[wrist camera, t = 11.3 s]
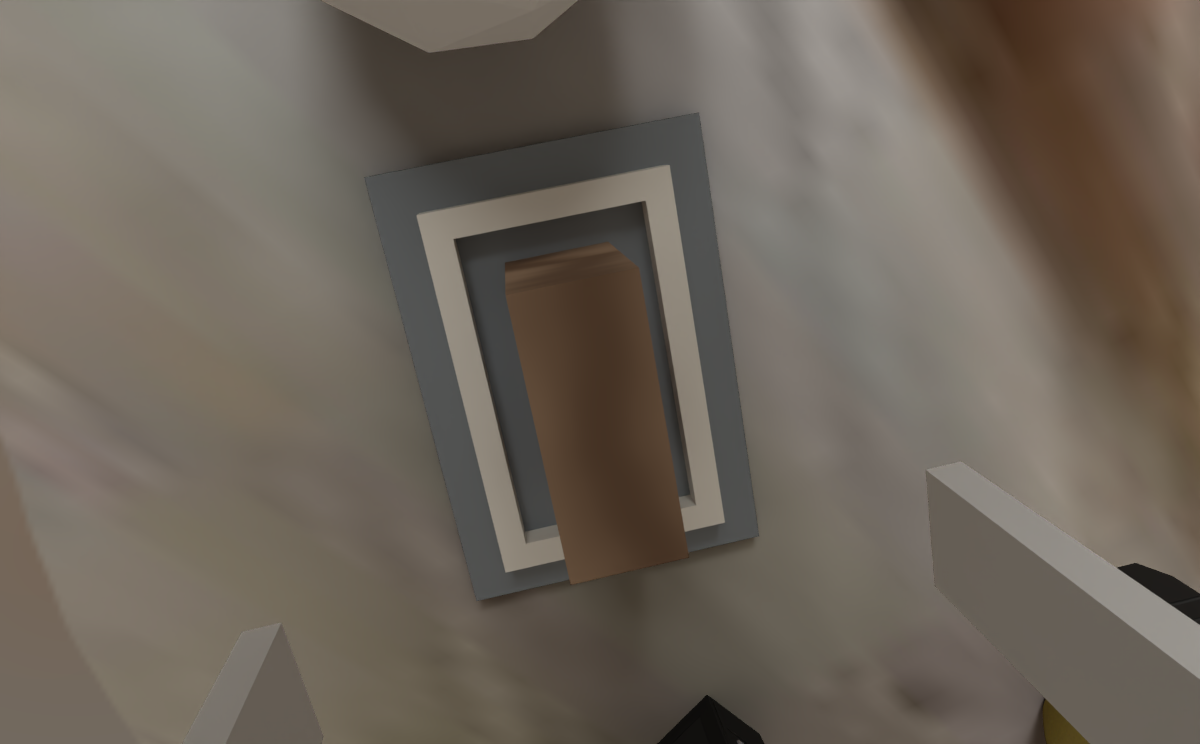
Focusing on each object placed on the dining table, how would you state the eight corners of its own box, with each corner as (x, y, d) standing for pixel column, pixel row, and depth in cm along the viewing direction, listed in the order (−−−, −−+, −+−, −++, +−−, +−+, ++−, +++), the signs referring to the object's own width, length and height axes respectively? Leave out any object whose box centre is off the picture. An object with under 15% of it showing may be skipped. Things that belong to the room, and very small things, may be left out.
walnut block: (556, 494, 37) (570, 584, 29) (504, 262, 33) (505, 295, 26) (650, 473, 37) (689, 557, 29) (608, 241, 34) (638, 267, 26)
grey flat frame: (367, 176, 33) (359, 178, 31) (694, 113, 33) (706, 111, 32) (477, 592, 38) (475, 615, 36) (754, 528, 39) (766, 547, 37)
